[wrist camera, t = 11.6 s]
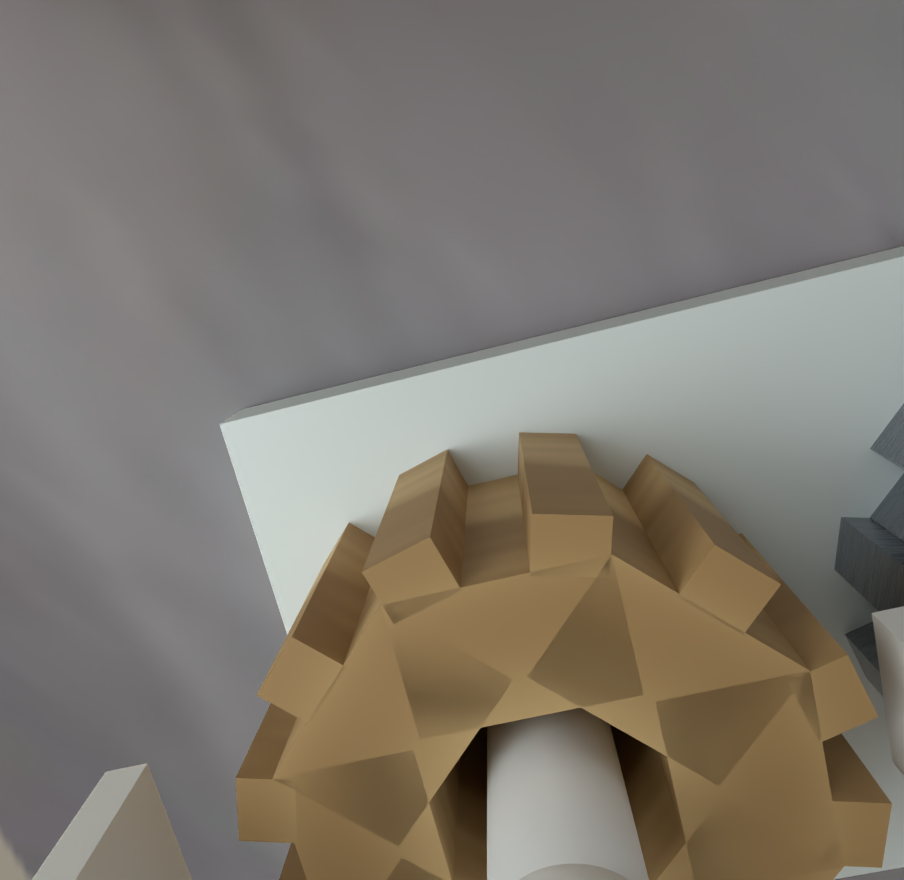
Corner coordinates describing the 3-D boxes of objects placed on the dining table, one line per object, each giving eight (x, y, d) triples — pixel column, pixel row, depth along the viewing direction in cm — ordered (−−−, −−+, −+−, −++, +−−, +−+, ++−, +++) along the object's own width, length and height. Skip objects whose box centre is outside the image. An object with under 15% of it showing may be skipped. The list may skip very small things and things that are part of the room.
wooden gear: (250, 495, 17) (152, 600, 12) (729, 382, 16) (836, 444, 11) (377, 892, 19) (338, 1118, 14) (806, 812, 18) (926, 1025, 13)
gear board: (241, 409, 18) (-30, 592, 9) (1279, 153, 16) (2417, 24, 6) (397, 906, 21) (323, 1455, 11) (1297, 743, 19) (2112, 1247, 9)
